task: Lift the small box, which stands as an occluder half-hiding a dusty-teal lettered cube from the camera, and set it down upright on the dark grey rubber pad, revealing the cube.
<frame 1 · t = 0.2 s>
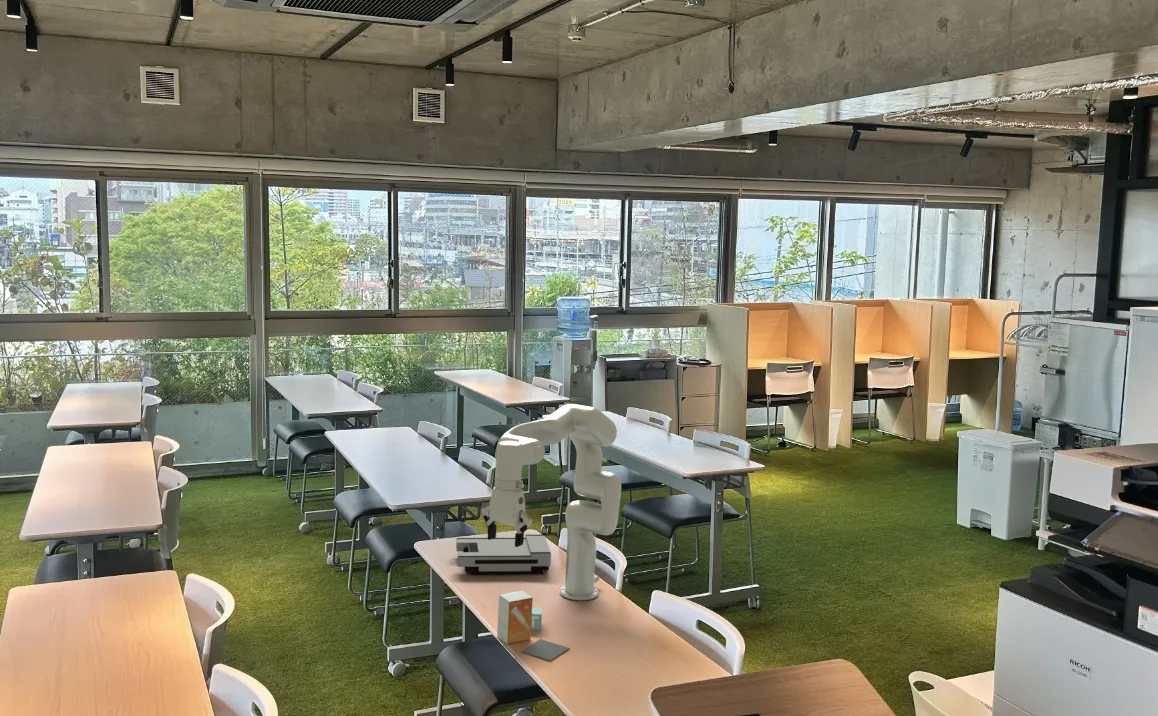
hand: (505, 542, 276), 29 cm above the table, fingers open, 9 cm apart
small box: (513, 638, 282), on the table
pad: (545, 650, 274), on the table
letter cube: (532, 626, 291), on the table
gray flat machine: (501, 566, 342), on the table
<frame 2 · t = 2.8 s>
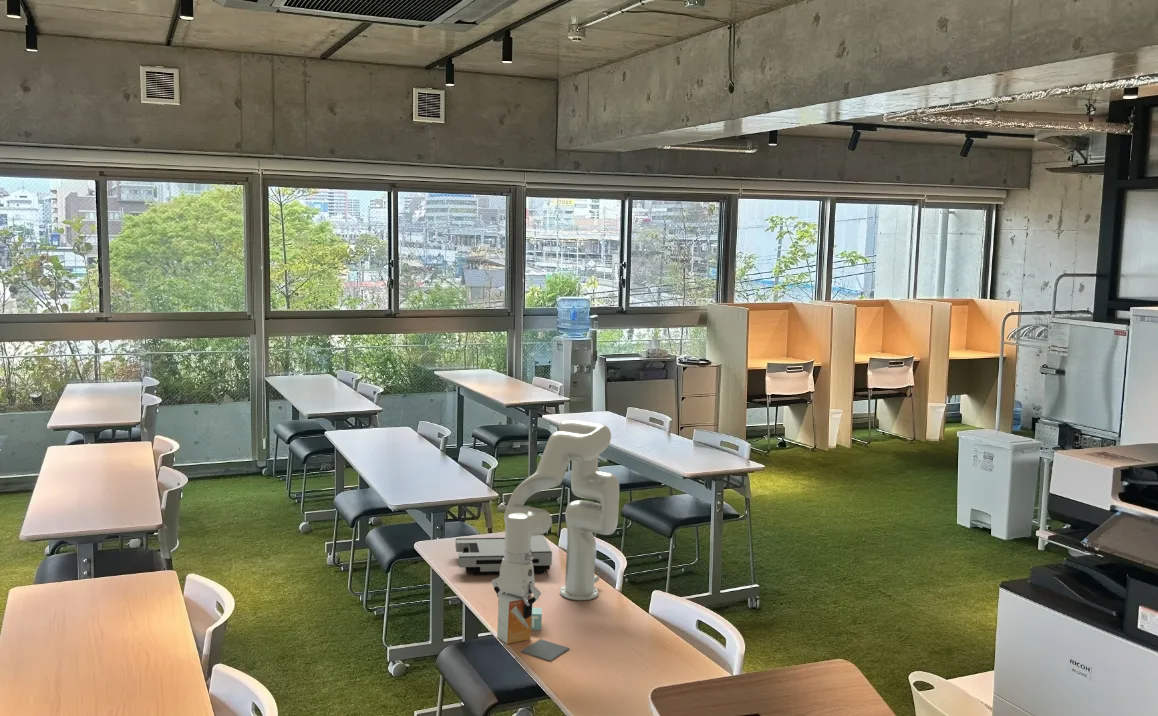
hand: (514, 613, 281), 8 cm above the table, fingers closed on small box, 8 cm apart
small box: (513, 638, 282), on the table, touching gripper
everything else where it was.
when the fingers open (9 cm above the table, at t = 9.0 s): small box stays where it is, resting on pad.
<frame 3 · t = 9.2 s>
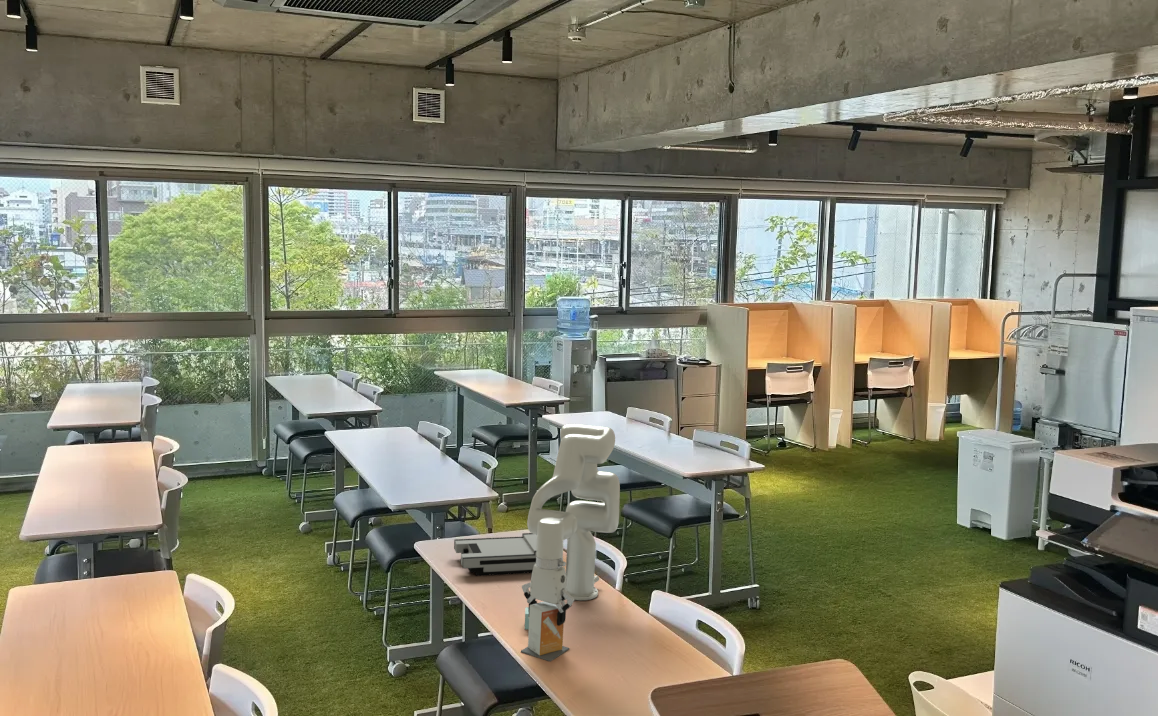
hand: (546, 619, 273), 9 cm above the table, fingers open, 9 cm apart
small box: (545, 649, 274), resting on pad
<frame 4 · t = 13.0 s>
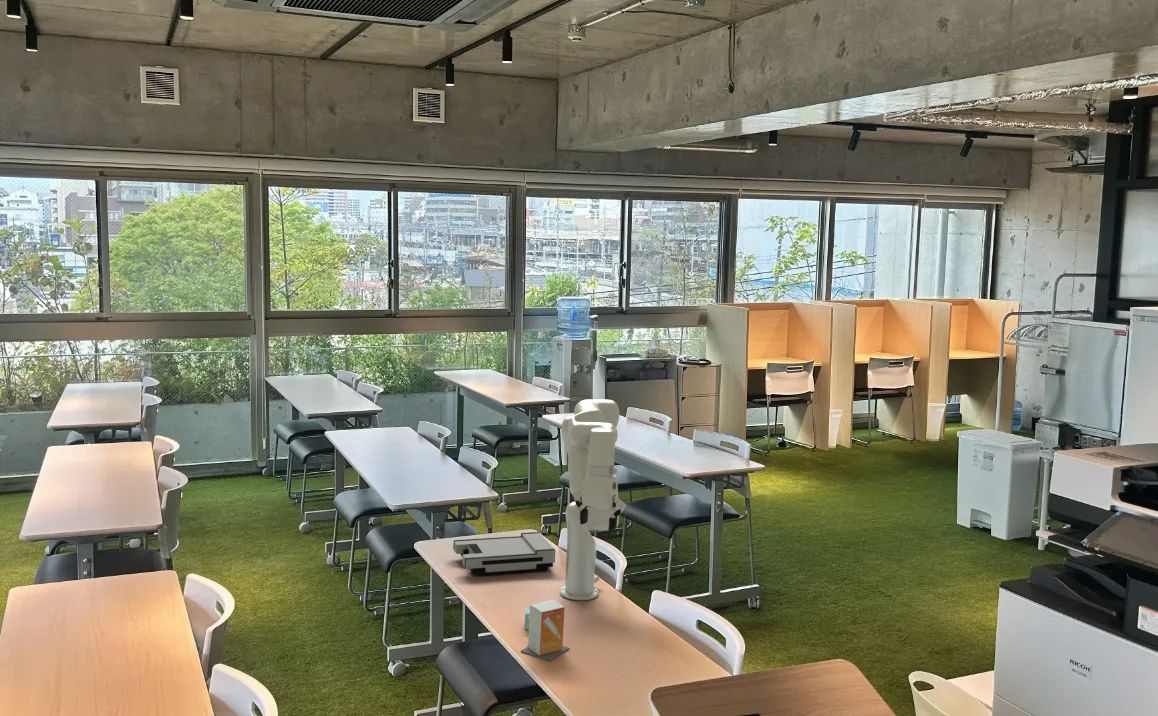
hand: (597, 526, 283), 33 cm above the table, fingers open, 9 cm apart
at the end: small box inside the target area on the pad (0.1 cm from its centre), point 0.2 cm above the pad's base; small box tilted 0°; letter cube moved 0.1 cm from its start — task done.
